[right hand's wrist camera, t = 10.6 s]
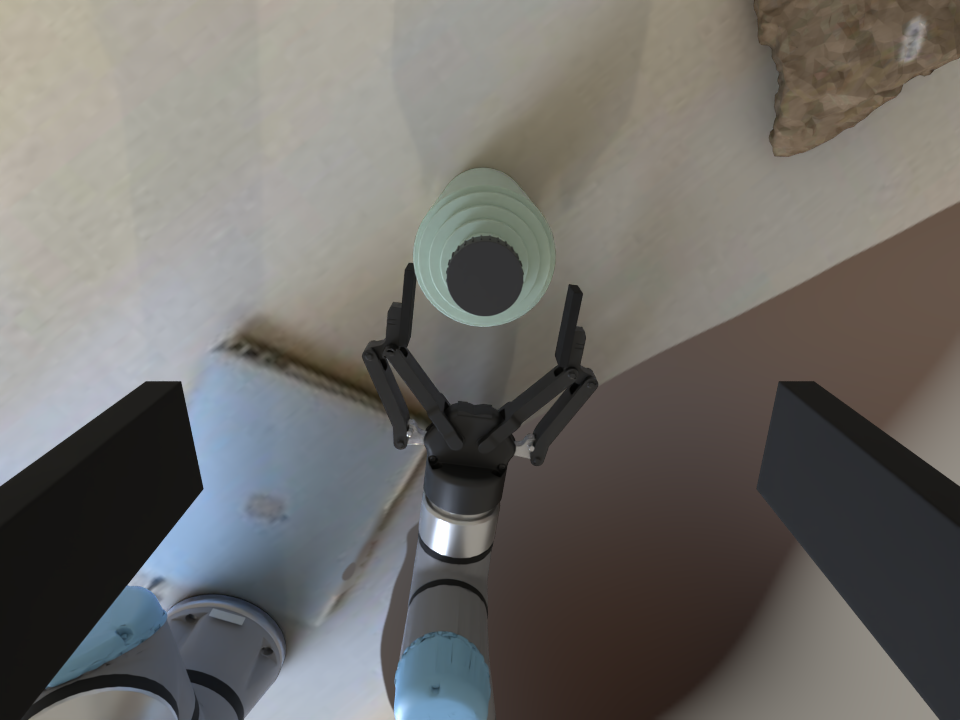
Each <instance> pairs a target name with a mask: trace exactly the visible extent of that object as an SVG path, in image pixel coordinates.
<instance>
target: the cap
mask: <svg viewBox="0 0 960 720" xmlns="http://www.w3.org/2000/svg"><path fill="white" fill-rule="evenodd" d="M446 274H447V278H446V282H447V287H448V291H449V293H450V295H451V297H452V299H453V300H454V302H455V303H456V304H457V305H458V306H459V307H460V308H461V309H463V310H464V311H466V312H468V313H470V314H473V315H477V316H493V315H497V314H500V313H502V312H504V311H505V310H507V309H508V308H510V307H511V306H512V305H513V304H514V303H515V301H516V300H517V299H518V297H519V295H520V293H521V291H522V287H523V283H524V281H523V275H524V272H523V269H522V263H521V261H520V260H519V256H518V253H516V252H515V251H514V249H513V247H512V246H510V245H509V244H507V241H505V242H504V241H503V240H501V239H499V237H497V238H496V237H492V236H491V235H489V236H482V235H480V236H478V237H472V238H471V239H469V240H467V241H466V240H465V241H464V243H462V244H461V245H460V246H459V245H458V246H457V249H456V250H455V252H453V253H452V256H451V260H450V259H449V262H448V267H447V270H446Z"/></svg>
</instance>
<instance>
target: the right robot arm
mask: <svg viewBox="0 0 960 720" xmlns="http://www.w3.org/2000/svg"><path fill="white" fill-rule="evenodd" d="M202 490H203V484H202V479H201V475H200V470H199V465H198V460H197V455H196V451H195V446H194V441H193V436H192V431H191V427H190V422H189V417H188V412H187V407H186V403H185V398H184V393H183V388H182V383H181V381H146V382H144V383H143V384H142V385H140V386H139V387H137V388H136V389H135V390H133V391H132V392H131V393H129V394H128V395H126V396H125V397H124V398H122V399H121V400H119V401H118V402H117V403H115V404H114V405H113V406H111V407H110V408H108V409H107V410H106V411H104V412H103V413H101V414H100V415H99V416H97V417H96V418H94V419H93V420H92V421H90V422H89V423H88V424H86V425H85V426H83V427H82V428H81V429H79V430H78V431H76V432H75V433H74V434H72V435H71V436H70V437H68V438H67V439H65V440H64V441H63V442H61V443H60V444H58V445H57V446H56V447H54V448H53V449H52V450H50V451H49V452H47V453H46V454H45V455H43V456H42V457H40V458H39V459H38V460H36V461H35V462H33V463H32V464H31V465H29V466H28V467H27V468H25V469H24V470H22V471H21V472H20V473H18V474H17V475H15V476H14V477H13V478H11V479H10V480H9V481H7V482H6V483H4V484H3V485H2V486H0V720H21V718H22V717H23V716H24V715H25V713H26V712H27V711H28V710H29V708H30V707H31V706H32V704H33V703H34V702H35V701H36V699H37V698H38V697H39V696H40V694H41V693H42V692H43V691H44V689H45V688H46V687H47V686H48V684H49V683H50V682H51V681H52V679H53V678H54V677H55V676H56V674H57V673H58V672H59V670H60V669H61V668H62V667H63V665H64V664H65V663H66V662H67V660H68V659H69V658H70V657H71V655H72V654H73V653H74V652H75V650H76V649H77V648H78V647H79V645H80V644H81V643H82V641H83V640H84V639H85V638H86V636H87V635H88V634H89V633H90V631H91V630H92V629H93V628H94V626H95V625H96V624H97V623H98V621H99V620H100V619H101V618H102V616H103V615H104V614H105V612H106V611H107V610H108V609H109V607H110V606H111V605H112V604H113V602H114V601H115V600H116V599H117V597H118V596H119V595H120V594H121V592H122V591H123V590H124V589H125V587H126V586H127V585H128V584H129V582H130V581H131V580H132V578H133V577H134V576H135V575H136V573H137V572H138V571H139V570H140V568H141V567H142V566H143V565H144V563H145V562H146V561H147V560H148V558H149V557H150V556H151V555H152V553H153V552H154V551H155V549H156V548H157V547H158V546H159V544H160V543H161V542H162V541H163V539H164V538H165V537H166V536H167V534H168V533H169V532H170V531H171V529H172V528H173V527H174V526H175V524H176V523H177V522H178V520H179V519H180V518H181V517H182V515H183V514H184V513H185V512H186V510H187V509H188V508H189V507H190V505H191V504H192V503H193V502H194V500H195V499H196V498H197V497H198V495H199V494H200V493H201V491H202ZM757 490H758V492H759V493H760V494H761V495H762V497H763V498H764V499H765V500H766V502H767V503H768V504H769V505H770V507H771V508H772V509H773V510H774V512H775V513H776V514H777V515H778V517H779V518H780V519H781V521H782V522H783V523H784V524H785V526H786V527H787V528H788V529H789V531H790V532H791V533H792V534H793V536H794V537H795V538H796V539H797V541H798V542H799V543H800V544H801V546H802V547H803V548H804V549H805V551H806V552H807V553H808V554H809V556H810V557H811V558H812V560H813V561H814V562H815V563H816V565H817V566H818V567H819V568H820V570H821V571H822V572H823V573H824V575H825V576H826V577H827V578H828V580H829V581H830V582H831V584H832V585H833V586H834V587H835V589H836V590H837V591H838V592H839V594H840V595H841V596H842V597H843V599H844V600H845V601H846V602H847V604H848V605H849V606H850V607H851V609H852V610H853V611H854V613H855V614H856V615H857V616H858V618H859V619H860V620H861V621H862V623H863V624H864V625H865V626H866V628H867V629H868V630H869V631H870V633H871V634H872V635H873V636H874V638H875V639H876V640H877V641H878V643H879V644H880V645H881V647H882V648H883V649H884V650H885V652H886V653H887V654H888V655H889V657H890V658H891V659H892V660H893V662H894V663H895V664H896V665H897V667H898V668H899V669H900V670H901V672H902V673H903V674H904V676H905V677H906V678H907V679H908V680H909V682H910V683H911V684H912V686H913V687H914V688H915V689H916V691H917V692H918V693H919V694H920V696H921V697H922V698H923V699H924V701H925V702H926V703H927V705H928V706H929V707H930V708H931V710H932V711H933V712H934V713H935V715H936V716H937V717H938V718H939V720H960V486H958V485H957V484H956V483H954V482H953V481H951V480H950V479H949V478H947V477H946V476H944V475H943V474H942V473H940V472H939V471H938V470H936V469H935V468H933V467H932V466H931V465H929V464H928V463H926V462H925V461H924V460H922V459H921V458H920V457H918V456H917V455H915V454H914V453H913V452H911V451H910V450H908V449H907V448H906V447H904V446H903V445H902V444H900V443H899V442H897V441H896V440H895V439H893V438H892V437H890V436H889V435H888V434H886V433H885V432H884V431H882V430H881V429H879V428H878V427H877V426H875V425H874V424H872V423H871V422H870V421H868V420H867V419H865V418H864V417H863V416H861V415H860V414H858V413H857V412H856V411H854V410H853V409H852V408H850V407H849V406H847V405H846V404H845V403H843V402H842V401H840V400H839V399H838V398H836V397H835V396H834V395H832V394H831V393H829V392H828V391H827V390H825V389H824V388H823V387H821V386H820V385H818V384H817V383H816V382H814V381H779V383H778V388H777V393H776V398H775V402H774V407H773V412H772V417H771V422H770V426H769V431H768V436H767V441H766V446H765V450H764V455H763V460H762V465H761V470H760V474H759V480H758V484H757Z"/></svg>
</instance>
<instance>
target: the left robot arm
mask: <svg viewBox="0 0 960 720" xmlns="http://www.w3.org/2000/svg"><path fill="white" fill-rule="evenodd" d="M416 278H417V277H416V274H415V269H414V263H408V265H407V267H406V269H405V274H404V286H403V297H402V303H397V302H393V303H392V305H391V307H390V309H389V311H388V317H387V329H386V338H385V339H384V340H381V341H370V342H369V343H368V345H367V347H366V348H365V350H364V352H363V354H362V358H363V361H364V363H365V365H366V367H367V370H368V372H369V374H370V376H371V379H372V381H373V383H374V385H375V388H376V390H377V392H378V394H379V397H380V399H381V401H382V403H383V406H384V408H385V410H386V412H387V415H388V417H389V419H390V421H391V424H392V426H393V438H394V446H395V447H396V448H397V449H400V450H401V449H404V448H406V446H407V444H424V445H425V447H426V449H427V461H426V470H425V478H424V492H423V497H422V504H421V512H420V520H419V533H418V543H417V550H416V557H415V563H414V570H413V578H412V583H411V589H410V597H409V603H408V613H407V619H406V625H405V631H404V637H403V643H402V649H401V654H400V660H399V663H398V669H397V671H396V674H395V686H396V694H395V704H394V714H395V719H396V720H496V715H495V706H494V697H493V689H492V680H491V672H490V664H489V650H488V627H487V618H488V598H487V581H488V571H489V564H490V557H491V550H492V546H493V541H494V538H495V533H496V527H497V521H498V515H499V509H500V501H501V498H502V493H503V487H504V481H505V476H506V470H507V465H508V462H509V460H510V459H511V458H512V457H513V456H519V457H524V458H528V459H530V460H531V463H532V464H533V465H534V466H539V465H541V464H542V463H543V462H544V459H545V456H546V453H547V450H548V447H549V445H550V444H551V443H552V442H553V441H554V439H555V438H556V437H557V436H558V435H559V433H560V432H561V431H562V430H563V428H564V427H565V426H566V425H567V424H568V423H569V421H570V420H571V419H572V418H573V416H574V415H575V414H576V413H577V412H578V410H579V409H580V408H581V407H582V406H583V404H584V403H585V402H586V401H587V400H588V398H589V397H590V396H591V395H592V394H593V392H594V391H595V390H596V389H597V387H598V382H597V379H596V377H595V375H594V373H593V371H592V370H591V369H589V368H585V367H583V366H581V365H580V363H581V359H582V354H583V349H584V344H585V340H586V335H585V331H584V330H583V328H582V327H579V326H576V325H577V320H578V315H579V310H580V306H581V301H582V296H583V293H582V291H581V290H580V288H579V287H578V285H570V284H569V286H568V292H567V297H566V302H565V307H564V312H563V317H562V322H561V327H560V332H559V337H558V342H557V347H556V352H555V357H556V360H557V363H558V365H557V366H556V367H555V368H553V369H552V370H551V371H550V372H548V373H547V374H546V375H545V376H543V377H542V378H541V379H540V380H538V381H537V382H536V383H535V384H533V385H532V386H531V387H530V388H528V389H527V390H526V391H525V392H523V393H522V394H521V395H520V396H518V397H517V398H516V399H515V400H513V401H512V402H508V403H506V404H505V405H504V406H503V407H501V408H500V409H499V410H498V411H497V410H496V409H494V408H492V405H487V404H480V405H473V404H471V403H468V402H463V401H458V403H456V404H453V405H450V403H449V402H448V401H447V399H446V398H445V397H444V395H443V394H442V393H440V392H439V391H438V390H437V388H436V387H435V386H434V384H433V383H432V382H431V380H430V379H429V377H428V376H427V375H426V373H425V372H424V371H423V369H422V368H421V366H420V365H419V364H418V362H417V361H416V360H415V358H414V357H413V355H412V354H411V353H410V351H409V350H408V349H407V346H408V343H409V340H410V338H411V329H412V319H413V309H414V299H415V288H416ZM386 358H387V359H388V360H389V361H390V363H391V364H392V365H393V367H394V368H395V369H396V371H397V372H398V373H399V375H400V376H401V378H402V379H403V380H404V382H405V383H406V384H407V386H408V387H409V388H410V390H411V391H412V392H413V394H414V395H415V396H416V398H417V399H418V400H419V402H420V403H421V404H422V406H423V407H424V408H425V410H426V411H427V414H428V416H429V418H430V420H431V421H432V423H431V424H430V425H429V426H428V427H427V428H426V430H422V429H420V428H419V427H418V424H417V422H416V421H415V420H414V419H410V415H409V411H408V408H407V405H406V403H405V401H404V398H403V396H402V394H401V391H400V389H399V387H398V384H397V382H396V380H395V377H394V375H393V373H392V370H391V368H390V366H389V363H388V361H387V359H386ZM566 388H567V389H566ZM565 389H566V390H565ZM563 390H565V391H564V392H563V394H562V395H561V396H560V397H559V399H558V400H557V401H556V402H555V403H554V405H553V406H552V407H551V408H550V410H549V411H548V412H547V413H546V415H545V416H544V417H543V418H542V420H541V421H540V422H539V423H538V425H537V426H536V428H535V430H534V432H533V434H527V436H525V438H524V439H523V440H522V441H519V442H517V441H515V438H514V436H513V435H512V433H513V432H515V431H516V430H517V429H518V428H519V427H520V426H521V424H522V422H524V421H525V420H526V419H527V418H529V417H530V416H531V415H533V414H534V413H535V412H536V411H538V410H539V409H540V408H542V407H543V406H544V405H545V404H547V403H548V402H549V401H550V400H552V399H553V398H554V397H556V396H557V395H558V394H559V393H561V392H562V391H563ZM285 654H286V644H285V639H284V636H283V634H282V632H281V630H280V628H279V626H278V625H277V624H276V622H275V621H274V620H273V619H272V618H271V617H270V616H269V615H268V614H267V613H265V612H264V611H263V610H261V609H260V608H258V607H257V606H255V605H253V604H251V603H249V602H247V601H244V600H242V599H238V598H235V597H231V596H225V595H213V594H210V595H200V596H195V597H191V598H188V599H185V600H183V601H181V602H179V603H177V604H176V605H174V606H173V607H172V608H171V609H170V610H169V611H168V612H166V611H165V610H163V609H162V607H161V605H160V603H159V602H158V600H157V598H156V596H155V595H154V594H153V593H152V592H151V591H150V590H148V589H146V588H143V587H139V586H126V587H125V589H124V590H123V591H122V592H121V594H120V595H119V596H118V597H117V599H116V600H115V601H114V602H113V604H112V605H111V606H110V607H109V609H108V610H107V611H106V612H105V614H104V615H103V616H102V618H101V619H100V620H99V621H98V623H97V624H96V625H95V626H94V628H93V629H92V630H91V631H90V633H89V634H88V635H87V636H86V638H85V639H84V640H83V641H82V643H81V644H80V645H79V647H78V648H77V649H76V650H75V652H74V653H73V654H72V655H71V657H70V658H69V659H68V660H67V662H66V663H65V664H64V665H63V667H62V668H61V669H60V670H59V672H58V673H57V674H56V676H55V677H54V678H53V679H52V681H51V682H50V683H49V684H48V686H47V687H46V688H45V689H44V691H43V692H42V693H41V694H40V696H39V697H38V698H37V699H36V701H35V702H34V703H33V704H32V706H31V707H30V708H29V710H28V711H27V712H26V713H25V715H24V716H23V717H22V718H21V720H244V718H245V717H246V716H247V714H248V713H249V712H250V711H251V709H252V708H253V707H254V706H255V705H256V703H257V702H258V701H259V700H260V698H261V697H262V696H263V695H264V694H265V692H266V691H267V690H268V689H269V687H270V686H271V685H272V684H273V683H274V681H275V680H276V678H277V677H278V675H279V672H280V669H281V667H282V664H283V662H284V659H285Z"/></svg>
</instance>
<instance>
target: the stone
mask: <svg viewBox="0 0 960 720" xmlns="http://www.w3.org/2000/svg"><path fill="white" fill-rule="evenodd" d="M754 10H755V12H756V14H757V17H758V19H757V21H758V39H759V43H760V44H761V45H767V46H770V47H771V48H772V58H773V60H774V62H775V63H776V70H777V71H778V72H779V77H778V83H779V86H780V87H779V90H778V92H777V94H776V95H775V105H774V108H775V111H776V119H775V121H774V125H773V130H772V131H771V132H770V135H769V140H770V143H771V145H772V148H773V153H774V156H780V157H789V156H792V155H795V154H799V153H803V152H806V151H808V150H810V149H812V148H814V147H816V146H818V145H820V144H822V143H824V142H826V141H828V140H830V139H832V138H834V137H835V136H837V135H838V134H839V133H841V132H842V131H843V130H845V129H847V128H850V127H854V126H855V125H856V124H857V123H858V122H859V121H861V120H863V119H865V118H866V117H867V116H868V115H869V114H870V113H871V112H872V111H873V110H874V109H876V108H878V107H880V106H881V105H883V104H884V103H885V102H887V101H889V100H891V99H893V98H895V97H896V96H897V95H898V94H899V93H900V92H901V89H902V87H903V84H904V83H906V82H908V81H909V80H910V79H912V78H914V77H916V76H918V75H922V76H927V75H930V74H931V73H932V72H933V71H934V70H935V69H937V68H939V67H941V66H943V65H944V64H946V63H948V62H950V61H953V60H956V59H959V58H960V0H754Z"/></svg>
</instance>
